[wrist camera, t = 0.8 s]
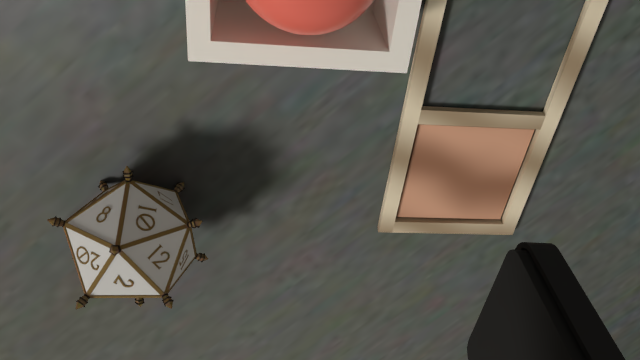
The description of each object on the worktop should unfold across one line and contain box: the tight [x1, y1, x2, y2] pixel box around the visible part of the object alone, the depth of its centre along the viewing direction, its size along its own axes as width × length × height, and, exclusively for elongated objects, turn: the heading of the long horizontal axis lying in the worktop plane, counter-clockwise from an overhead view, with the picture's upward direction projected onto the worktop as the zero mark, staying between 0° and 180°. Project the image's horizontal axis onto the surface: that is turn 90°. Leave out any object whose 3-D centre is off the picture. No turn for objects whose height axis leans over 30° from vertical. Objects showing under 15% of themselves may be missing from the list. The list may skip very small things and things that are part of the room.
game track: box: [377, 0, 609, 235], centre depth 32 cm, size 28×10×1 cm, turn 174°
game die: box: [48, 166, 208, 309], centre depth 34 cm, size 9×8×10 cm
